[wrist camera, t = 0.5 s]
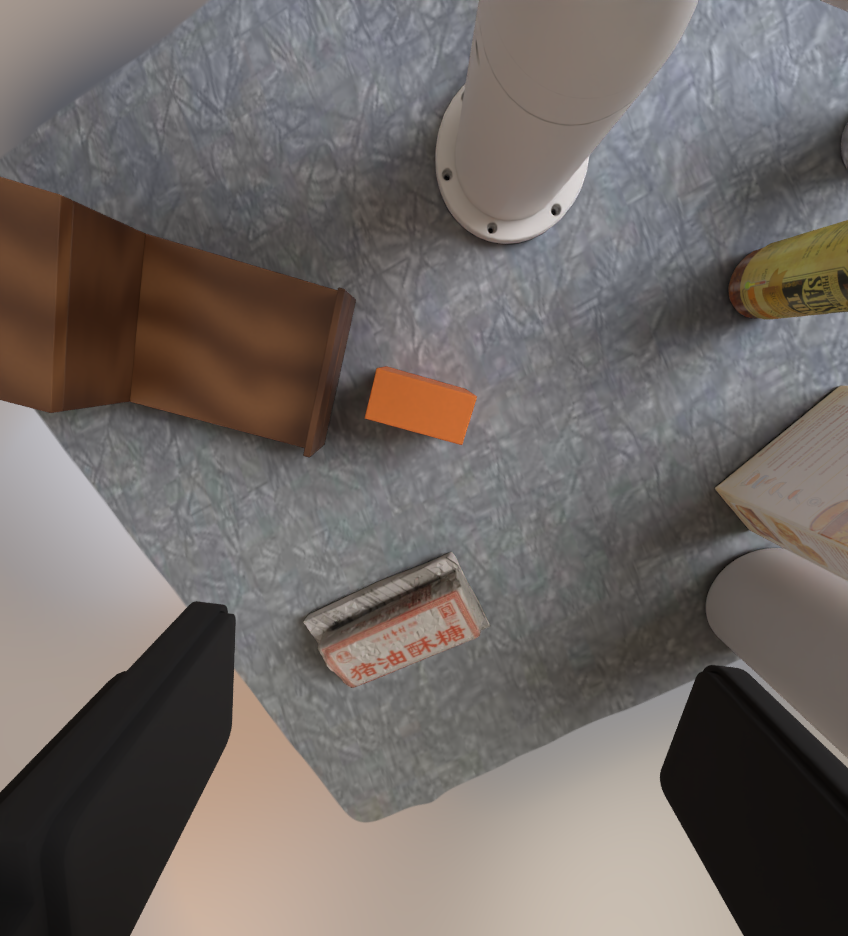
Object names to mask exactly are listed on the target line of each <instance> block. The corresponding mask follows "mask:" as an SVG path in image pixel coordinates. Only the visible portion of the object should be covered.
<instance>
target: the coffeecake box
mask: <svg viewBox="0 0 848 936" xmlns="http://www.w3.org/2000/svg"><path fill="white" fill-rule="evenodd" d="M715 490H716V491H717V492H718V493H719V494H720V496H721V497H722V498H723V499H724V501H725V502H726V503H727V504H728V505H729V506H730V508H731V509H732V510H733V511H734V512H735V513H736V515H737V516H738V517H739V519H740V520H741V521H742V522H743V523H744V524H745V525H746V527H747V528H748V529H749V530H750V531H752V532H754V533H756V534H758V535H760V536H761V537H763V538H765V539H767V540H769V541H771V542H773V543H775V544H777V545H779V546H781V547H783V548H785V549H787V550H788V551H790V552H792V553H794V554H796V555H798V556H800V557H802V558H804V559H806V560H808V561H810V562H812V563H814V564H815V565H817V566H819V567H821V568H823V569H825V570H827V571H829V572H831V573H833V574H835V575H837V576H839V577H841V578H842V579H844V580H846V581H848V386H839V387H838V388H837V389H835V390H834V391H833V392H832V393H831V394H829V395H828V396H827V397H826V398H824V399H823V400H822V401H821V402H819V403H818V404H817V405H816V406H815V407H813V408H812V409H811V410H810V411H808V412H807V413H806V414H805V415H804V416H803V417H801V418H800V419H799V420H798V421H796V422H795V423H794V424H793V425H791V426H790V427H789V428H788V429H786V430H785V431H784V432H783V433H782V434H780V435H779V436H778V437H777V438H776V439H774V440H773V441H772V442H771V443H769V444H768V445H767V446H766V447H764V448H763V449H762V450H761V451H760V452H758V453H757V454H756V455H755V456H753V457H752V458H751V459H750V460H749V461H747V462H746V463H745V464H744V465H743V466H741V467H740V468H739V469H738V470H736V471H735V472H734V473H733V474H731V475H730V476H729V477H728V478H727V479H725V480H724V481H723V482H722V483H721V484H719V485H718V486H717V487H715Z"/></svg>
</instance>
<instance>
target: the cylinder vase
mask: <svg viewBox="0 0 848 936" xmlns="http://www.w3.org/2000/svg"><path fill="white" fill-rule="evenodd" d="M706 615H707V619H708V622H709V625H710V627H711V629H712V630H713V632H714V633H715V634H716V635H717V636H718V637H719V638H720V639H721V640H722V641H723V642H724V643H725V644H726V645H727V646H728V647H729V648H730V649H731V650H732V651H733V652H735V653H736V654H737V655H738V656H739V657H740V658H741V659H742V660H743V661H744V662H745V663H746V664H747V665H748V666H750V667H751V668H752V669H753V670H754V671H755V672H756V673H757V674H758V675H759V676H760V677H761V678H762V679H763V680H765V681H766V682H767V683H768V684H769V685H770V686H771V687H772V688H773V689H774V690H775V691H776V692H777V693H778V694H780V696H782V697H783V698H784V699H785V700H786V701H787V702H788V703H789V704H790V705H791V706H792V707H793V708H794V709H796V710H797V711H798V712H799V713H800V714H801V715H802V716H803V717H804V718H805V719H806V720H807V721H808V722H810V724H811V725H813V726H814V727H815V728H816V729H817V730H818V731H819V732H820V733H821V734H822V735H823V736H824V737H825V738H826V739H827V740H829V741H830V742H831V743H832V744H833V745H834V746H835V747H836V748H837V749H838V750H839V751H840V752H841V753H843V754H844V755H845V756H846V757H847V758H848V581H846V580H844V579H842V578H841V577H839V576H837V575H835V574H833V573H831V572H829V571H827V570H825V569H823V568H821V567H819V566H817V565H815V564H814V563H812V562H810V561H808V560H806V559H804V558H802V557H800V556H798V555H796V554H794V553H792V552H790V551H788V550H787V549H782V548H768V549H761V550H757V551H754V552H751V553H748V554H746V555H743V556H741V557H739V558H738V559H736V560H734V561H733V562H732V563H730V564H729V565H728V566H726V567H725V568H724V569H723V570H722V571H721V572H720V574H719V575H718V576H717V577H716V579H715V580H714V582H713V583H712V585H711V587H710V590H709V592H708V595H707V600H706Z"/></svg>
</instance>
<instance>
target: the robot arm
mask: <svg viewBox="0 0 848 936" xmlns="http://www.w3.org/2000/svg"><path fill="white" fill-rule="evenodd" d="M821 1H823V2H825V3H828V4H830V5H833V6H835V7H837V8H840V9H842V10H845V11H847V12H848V0H821ZM697 3H698V0H479V4H478V10H477V16H476V22H475V29H474V35H473V41H472V47H471V53H470V60H469V66H468V72H467V78H466V84H465V85H463V86H462V88H461V89H460V90H459V91H458V93H457V94H456V95H455V97H454V98H453V99H452V101H451V103H450V105H449V106H448V108H447V110H446V112H445V114H444V116H443V119H442V122H441V125H440V128H439V132H438V138H437V144H436V155H435V165H436V176H437V181H438V185H439V189H440V193H441V195H442V197H443V199H444V202H445V204H446V206H447V208H448V209H449V211H450V212H451V214H452V215H453V216H454V218H455V219H456V220H457V221H458V222H459V223H460V224H461V225H462V226H463V227H464V228H465V229H466V230H467V231H469V232H471V233H472V234H474V235H475V236H477V237H479V238H482V239H484V240H487V241H490V242H495V243H502V244H510V243H519V242H523V241H527V240H530V239H533V238H535V237H537V236H539V235H541V234H542V233H544V232H546V231H547V230H548V229H549V228H551V227H552V226H553V225H555V224H556V223H557V222H558V221H559V220H560V219H561V218H562V217H563V216H564V215H565V213H566V212H567V211H568V209H569V208H570V207H571V205H572V204H573V203H574V201H575V199H576V197H577V195H578V194H579V192H580V190H581V188H582V185H583V182H584V179H585V176H586V173H587V168H588V161H589V155H590V154H591V153H592V152H593V150H594V149H595V148H596V147H597V146H598V144H599V143H600V142H601V141H602V140H603V138H604V137H605V136H606V135H607V134H608V132H609V131H610V130H611V129H612V127H613V126H614V125H615V124H616V123H617V121H618V120H619V119H620V118H621V117H622V115H623V114H624V113H625V112H626V111H627V109H628V108H629V107H630V106H631V104H632V103H633V102H634V101H635V100H636V98H637V97H638V96H639V95H640V94H641V92H642V91H643V90H644V89H645V88H646V86H647V85H648V83H649V82H650V81H651V80H652V79H653V77H654V76H655V75H656V74H657V72H658V71H659V70H660V69H661V67H662V66H663V65H664V63H665V62H666V61H667V59H668V58H669V56H670V55H671V53H672V52H673V50H674V49H675V47H676V46H677V44H678V42H679V41H680V39H681V37H682V35H683V33H684V31H685V29H686V27H687V25H688V24H689V22H690V20H691V17H692V15H693V13H694V11H695V8H696V6H697ZM445 176H448V177H449V178H450V179H449V180H448V181H446V180H444V177H445ZM552 210H553V211H555V216H554V215H553V214H552V213H551V211H552ZM489 228H492V229H493V233H489V232H488V229H489ZM235 624H236V619H235V615H234V614H229V613H228V610H227V607H226V606H225V605H221V604H213V603H205V602H197V601H196V602H193V603H191V604H190V605H189V606H188V607H187V608H186V609H185V610H184V611H183V612H182V613H181V614H180V616H179V617H178V618H177V619H176V620H175V621H174V622H173V623H172V624H171V625H170V626H169V627H168V628H167V629H166V630H165V631H164V632H163V633H162V634H161V636H160V637H159V638H158V639H157V640H156V641H155V642H154V643H153V644H152V645H151V646H150V647H149V648H148V649H147V650H146V651H145V652H144V653H143V655H142V656H141V657H140V658H139V659H138V660H137V661H136V662H135V663H134V664H133V665H132V666H131V667H130V668H129V669H128V670H127V671H124V672H121V673H119V674H117V675H116V676H115V677H113V678H112V679H111V680H110V681H108V683H106V684H105V685H104V686H103V688H101V690H100V691H99V692H98V693H97V694H96V695H95V696H94V697H93V698H92V699H91V700H90V701H89V702H88V703H87V704H86V705H85V706H84V707H83V708H82V709H81V710H80V711H79V712H78V713H77V714H76V715H75V716H74V717H73V719H71V720H70V721H69V722H68V723H67V725H65V726H64V727H63V729H62V730H61V731H60V732H59V733H58V734H57V735H56V736H55V737H54V738H53V739H52V740H51V741H50V742H49V743H48V744H47V745H46V746H45V747H44V748H43V749H42V750H41V751H40V752H39V753H38V754H37V755H36V756H35V757H34V758H33V759H32V760H31V761H30V762H29V764H27V765H26V766H25V768H24V769H23V770H22V771H21V772H20V773H19V774H18V775H17V776H16V777H15V778H14V779H13V780H12V781H11V782H10V783H9V784H8V785H7V786H6V787H5V788H4V789H3V790H2V791H1V792H0V936H130V935H131V933H132V931H133V929H134V927H135V925H136V923H137V921H138V919H139V917H140V915H141V913H142V911H143V909H144V907H145V905H146V903H147V901H148V899H149V897H150V895H151V893H152V891H153V889H154V887H155V885H156V883H157V881H158V879H159V877H160V875H161V873H162V871H163V869H164V867H165V865H166V864H167V862H168V859H169V858H170V856H171V854H172V851H173V850H174V848H175V846H176V844H177V842H178V840H179V838H180V836H181V833H182V831H183V830H184V827H185V826H186V824H187V822H188V820H189V818H190V816H191V814H192V812H193V810H194V808H195V806H196V804H197V802H198V800H199V798H200V796H201V794H202V792H203V790H204V788H205V786H206V784H207V782H208V780H209V778H210V776H211V774H212V773H213V771H214V768H215V767H216V765H217V763H218V761H219V759H220V756H221V755H222V752H223V750H224V749H225V747H226V744H227V742H228V739H229V736H230V732H231V727H232V707H233V680H234V679H233V678H234V652H235ZM660 782H661V787H662V790H663V792H664V795H665V797H666V799H667V800H668V802H669V804H670V806H671V807H672V809H673V811H674V813H675V815H676V816H677V818H678V820H679V821H680V823H681V825H682V827H683V829H684V830H685V832H686V834H687V836H688V838H689V839H690V841H691V843H692V845H693V846H694V848H695V850H696V852H697V854H698V855H699V857H700V859H701V861H702V862H703V864H704V866H705V868H706V870H707V871H708V873H709V875H710V877H711V879H712V880H713V882H714V884H715V886H716V887H717V889H718V891H719V893H720V894H721V896H722V898H723V900H724V902H725V903H726V905H727V907H728V909H729V911H730V912H731V914H732V916H733V917H734V919H735V921H736V923H737V925H738V926H739V928H740V930H741V932H742V934H743V935H744V936H848V768H847V767H846V766H845V765H844V764H843V763H842V762H841V761H840V760H839V759H838V758H837V757H836V756H835V755H833V754H832V753H831V752H830V751H829V750H828V749H827V748H826V747H825V746H824V745H823V744H822V743H821V742H820V741H819V740H818V739H817V738H816V737H815V736H813V735H812V734H811V733H810V732H809V731H808V730H807V729H806V728H805V727H804V726H803V725H802V724H801V723H800V722H799V721H798V720H797V719H796V718H794V716H793V715H791V714H790V713H789V712H788V711H787V710H786V709H785V708H784V707H783V706H782V705H781V704H780V703H779V702H778V701H777V700H776V699H775V698H774V697H773V696H771V694H769V693H768V692H767V691H766V690H765V689H764V688H763V687H762V686H761V685H760V684H759V683H758V682H757V681H756V680H755V679H754V678H752V676H751V675H750V674H748V673H747V672H746V671H744V670H742V669H739V668H733V667H725V666H717V665H709V666H707V667H706V668H705V669H704V670H703V672H700V673H699V674H698V675H697V677H696V679H695V682H694V684H693V687H692V690H691V692H690V695H689V698H688V700H687V703H686V705H685V708H684V711H683V713H682V716H681V719H680V721H679V724H678V727H677V729H676V732H675V734H674V737H673V740H672V742H671V745H670V748H669V750H668V753H667V756H666V758H665V761H664V764H663V766H662V769H661V772H660Z"/></svg>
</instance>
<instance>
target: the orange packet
mask: <svg viewBox="0 0 848 936" xmlns="http://www.w3.org/2000/svg"><path fill="white" fill-rule="evenodd" d="M476 398H477V396H475V395H474V394H472V393H471V392H469V391H468V390H466V389H464V388H461V387H457V386H454V385H450V384H446V383H443V382H439V381H436V380H432V379H429V378H425V377H422V376H418V375H415V374H411V373H408V372H404V371H401V370H397V369H394V368H390V367H387V366H385V367H381V368H377V369H376V373H375V377H374V381H373V386H372V390H371V394H370V398H369V402H368V406H367V410H366V415H365V419H368V420H372V421H376V422H379V423H383V424H387V425H390V426H394V427H398V428H401V429H405V430H409V431H412V432H416V433H420V434H423V435H427V436H431V437H434V438H438V439H442V440H445V441H449V442H453V443H456V444H460V445H462V444H463V441H464V437H465V434H466V431H467V428H468V424H469V421H470V418H471V415H472V411H473V408H474V405H475V402H476Z"/></svg>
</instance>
